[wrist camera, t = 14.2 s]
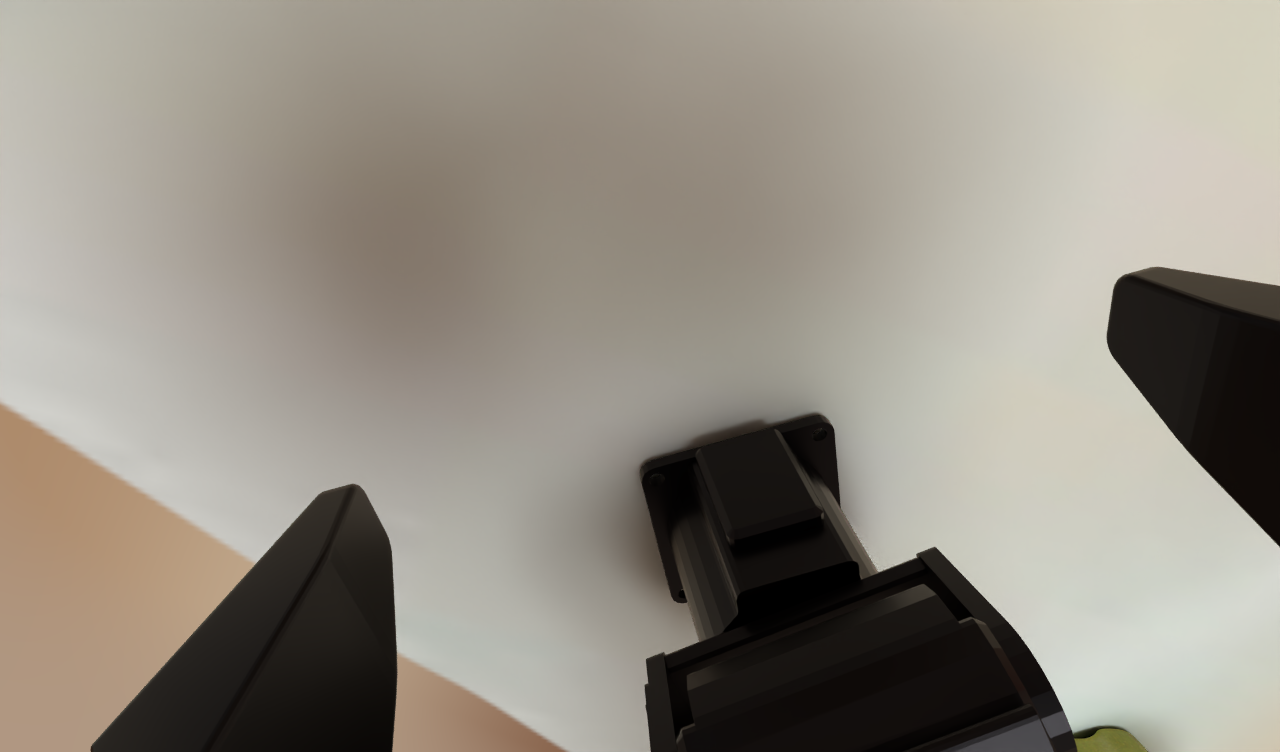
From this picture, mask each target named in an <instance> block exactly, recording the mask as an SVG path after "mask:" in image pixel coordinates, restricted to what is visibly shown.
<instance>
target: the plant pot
mask: <svg viewBox="0 0 1280 752" xmlns="http://www.w3.org/2000/svg"><path fill="white" fill-rule="evenodd" d="M1074 739H1075V738H1074ZM1075 743H1076V746H1077V751H1078V752H1148V751H1147V750H1146V749H1145V748H1144V747H1143V746H1142V745H1141V744H1140V743H1139V741H1138V740H1137V739H1136V738H1135V737H1134V736H1133V735H1131V734H1130V733H1128V732H1126V731H1124V730H1119V729H1100V730H1097V732H1096V733H1095V734H1094V735H1093V736H1091V737H1089V738H1084V739H1075Z"/></svg>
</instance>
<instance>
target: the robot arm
mask: <svg viewBox="0 0 1280 752" xmlns="http://www.w3.org/2000/svg"><path fill="white" fill-rule="evenodd" d="M1107 344H1108V348H1109V350H1110V352H1111V354H1112V356H1113V358H1114V359H1115V360H1116V362H1117V363H1118V364H1119V365H1120V367H1121V368H1122V369H1123V370H1124V372H1125V373H1126V374H1127V376H1128V377H1129V378H1130V379H1131V381H1132V382H1133V383H1134V384H1135V386H1136V387H1137V388H1138V390H1139V391H1140V392H1141V393H1142V395H1143V396H1144V397H1145V398H1146V400H1147V401H1148V402H1149V404H1150V405H1151V406H1152V407H1153V409H1154V410H1155V411H1156V413H1157V414H1158V415H1159V416H1160V418H1161V419H1162V420H1163V421H1164V423H1165V424H1166V425H1167V427H1168V428H1169V429H1170V430H1171V432H1172V433H1173V434H1174V435H1175V437H1176V438H1177V439H1178V440H1179V441H1180V443H1181V444H1182V445H1183V446H1184V447H1185V449H1186V450H1187V451H1188V452H1189V453H1190V454H1191V455H1192V457H1193V458H1194V459H1195V460H1196V461H1197V462H1198V463H1199V464H1200V465H1201V466H1202V467H1203V468H1204V469H1205V470H1206V472H1207V473H1208V474H1209V475H1210V476H1211V477H1212V478H1213V479H1214V480H1215V481H1216V482H1217V483H1218V484H1219V485H1220V486H1221V487H1222V488H1223V489H1224V490H1225V491H1226V492H1227V493H1228V494H1229V495H1230V496H1231V497H1232V498H1233V499H1234V500H1235V501H1236V502H1237V503H1238V504H1239V505H1240V507H1241V508H1242V509H1243V510H1244V511H1245V512H1246V513H1247V514H1248V515H1249V516H1250V517H1251V518H1252V519H1253V520H1254V521H1255V522H1256V523H1257V524H1258V525H1259V526H1260V527H1261V528H1262V529H1263V530H1264V531H1265V532H1266V533H1267V534H1268V535H1269V536H1270V537H1271V538H1272V539H1273V541H1274V542H1275V543H1276V544H1277V545H1278V546H1279V547H1280V286H1277V285H1270V284H1264V283H1258V282H1252V281H1245V280H1239V279H1233V278H1226V277H1220V276H1214V275H1207V274H1201V273H1195V272H1189V271H1182V270H1176V269H1170V268H1163V267H1150V268H1147V269H1143V270H1140V271H1136V272H1132V273H1129V274H1125V275H1123V276H1122V277H1120V278H1119V279H1118V280H1117V282H1116V284H1115V285H1114V289H1113V295H1112V302H1111V309H1110V315H1109V322H1108V329H1107ZM821 428H822V430H821V431H820V432H819V433H817V434H813V433H814V431H815V430H817V429H821ZM654 474H661V475H660V476H659V477H657V478H650V477H651V476H652V475H654ZM640 479H641V483H642V486H643V490H644V494H645V498H646V502H647V505H648V509H649V513H650V517H651V521H652V524H653V528H654V532H655V536H656V540H657V543H658V547H659V551H660V555H661V559H662V562H663V566H664V570H665V574H666V578H667V581H668V585H669V589H670V593H671V596H672V598H673V600H674V601H676V602H677V603H687V602H688V606H689V609H690V612H691V616H692V619H693V622H694V625H695V629H696V632H697V635H698V639H699V642H698V643H696V644H693V645H690V646H688V647H685V648H683V649H680V650H678V651H675V652H672V653H670V654H667V655H665V653H664V652H663V653H660V654H658V655H655V656H653V657H650V658H647V659H646V665H647V675H648V684H646V685H645V696H646V705H645V706H646V711H647V716H648V727H649V737H650V747H651V752H1078V751H1077V746H1076V743H1075V739H1074V736H1073V733H1072V730H1071V728H1070V725H1069V723H1068V720H1067V718H1066V715H1065V713H1064V711H1063V708H1062V706H1061V704H1060V702H1059V700H1058V698H1057V696H1056V694H1055V692H1054V690H1053V688H1052V686H1051V685H1050V683H1049V681H1048V679H1047V677H1046V676H1045V674H1044V672H1043V670H1042V668H1041V667H1040V665H1039V664H1038V662H1037V661H1036V659H1035V657H1034V656H1033V654H1032V653H1031V651H1030V650H1029V648H1028V647H1027V645H1026V644H1025V643H1024V641H1023V640H1022V639H1021V637H1020V636H1019V634H1018V633H1017V632H1016V631H1015V630H1014V629H1013V627H1012V626H1011V625H1010V624H1009V623H1008V622H1007V621H1006V620H1005V619H1004V617H1003V616H1002V615H1001V614H1000V613H999V612H998V611H997V610H996V609H995V608H994V607H993V606H992V605H991V604H990V603H989V602H988V601H987V600H986V599H985V598H984V597H983V596H982V595H981V594H980V593H979V592H978V591H977V590H976V589H975V587H974V586H973V585H972V584H971V583H970V582H969V581H968V580H967V579H966V578H965V577H964V576H963V575H962V574H961V573H960V572H959V571H958V570H957V569H956V568H955V567H954V566H953V565H952V564H951V563H950V562H949V561H948V560H947V558H946V557H945V556H944V555H943V554H942V553H941V552H940V551H939V550H938V549H937V548H936V547H933V548H930V549H928V550H925V551H923V552H920V553H917V554H916V555H917V558H914V559H912V560H909V561H907V562H904V563H901V564H899V565H896V566H894V567H891V568H889V569H886V570H883V571H881V572H878V571H877V569H876V568H875V566H874V564H873V563H872V561H871V559H870V557H869V556H868V554H867V552H866V551H865V549H864V547H863V546H862V544H861V542H860V541H859V539H858V537H857V535H856V534H855V532H854V530H853V529H852V527H851V525H850V524H849V522H848V520H847V519H846V517H845V515H844V513H843V512H842V510H841V507H840V495H839V482H838V470H837V458H836V445H835V433H834V428H833V426H832V425H831V423H830V422H829V420H828V419H827V418H826V417H824V416H821V415H818V416H812V417H808V418H805V419H801V420H797V421H794V422H790V423H786V424H783V425H779V426H775V427H772V428H768V429H765V430H761V431H757V432H754V433H750V434H746V435H743V436H739V437H735V438H732V439H728V440H725V441H721V442H717V443H714V444H710V445H706V446H703V447H699V448H695V449H692V450H688V451H685V452H681V453H677V454H674V455H670V456H666V457H663V458H659V459H656V460H652V461H650V462H647V463H646V464H645V465H644V466H642V468H641V470H640ZM682 589H684V590H682ZM396 692H397V645H396V625H395V604H394V584H393V563H392V550H391V545H390V541H389V538H388V536H387V533H386V531H385V529H384V527H383V526H382V524H381V522H380V520H379V518H378V516H377V514H376V512H375V510H374V508H373V506H372V505H371V503H370V501H369V499H368V497H367V495H366V493H365V492H364V490H363V489H362V488H361V487H360V486H358V485H356V484H350V485H346V486H342V487H338V488H335V489H331V490H327V491H324V492H322V493H320V494H319V495H318V496H317V497H316V498H315V499H314V500H313V501H312V502H311V503H310V505H309V506H308V507H307V508H306V509H305V510H304V511H303V512H302V513H301V515H300V516H299V517H298V518H297V519H296V520H295V521H294V522H293V523H292V524H291V526H290V527H289V528H288V529H287V530H286V531H285V532H284V533H283V534H282V536H281V537H280V538H279V539H278V540H277V541H276V542H275V543H274V544H273V546H272V547H271V548H270V549H269V550H268V551H267V552H266V553H265V554H264V555H263V557H262V558H261V559H260V560H259V561H258V562H257V563H256V564H255V565H254V567H253V568H252V569H251V570H250V571H249V572H248V573H247V574H246V576H245V577H244V578H243V579H242V580H241V581H240V582H239V583H238V584H237V585H236V586H235V588H234V589H233V590H232V591H231V592H230V593H229V594H228V595H227V596H226V598H225V599H224V600H223V601H222V602H221V603H220V604H219V605H218V606H217V607H216V609H215V610H214V611H213V612H212V613H211V614H210V615H209V616H208V617H207V618H206V620H205V621H204V622H203V623H202V624H201V625H200V626H199V627H198V629H197V630H196V631H195V632H194V633H193V634H192V635H191V636H190V637H189V638H188V639H187V641H186V642H185V643H184V644H183V645H182V646H181V647H180V648H179V649H178V651H177V652H176V653H175V654H174V655H173V656H172V657H171V658H170V659H169V660H168V662H167V663H166V664H165V665H164V666H163V667H162V668H161V670H159V671H158V673H157V674H156V675H155V676H154V677H153V678H152V679H151V680H150V682H149V683H148V684H147V685H146V686H145V687H144V688H143V689H142V690H141V691H140V693H139V694H138V695H137V696H136V697H135V698H134V699H133V700H132V701H131V703H129V705H128V706H127V707H126V708H125V709H124V710H123V711H122V712H121V713H120V715H119V716H118V717H117V718H116V719H115V720H114V721H113V722H112V723H111V725H110V726H109V727H108V728H107V729H106V730H105V731H104V732H103V733H102V735H101V736H100V737H99V738H98V739H97V740H96V741H95V742H94V743H93V745H92V746H91V752H392V747H393V733H394V720H395V707H396Z"/></svg>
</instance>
